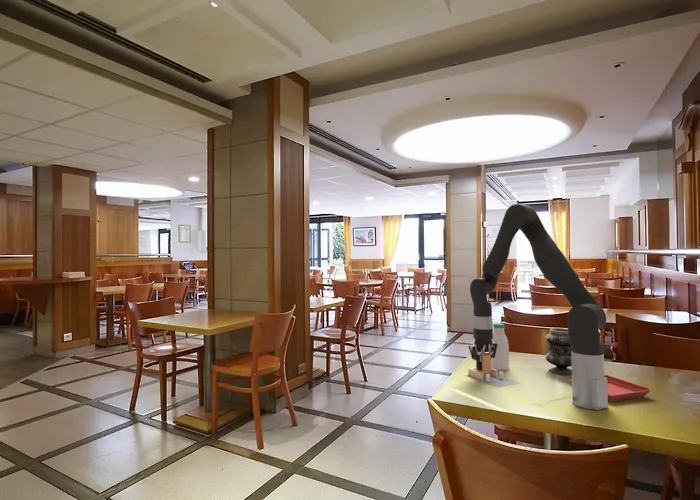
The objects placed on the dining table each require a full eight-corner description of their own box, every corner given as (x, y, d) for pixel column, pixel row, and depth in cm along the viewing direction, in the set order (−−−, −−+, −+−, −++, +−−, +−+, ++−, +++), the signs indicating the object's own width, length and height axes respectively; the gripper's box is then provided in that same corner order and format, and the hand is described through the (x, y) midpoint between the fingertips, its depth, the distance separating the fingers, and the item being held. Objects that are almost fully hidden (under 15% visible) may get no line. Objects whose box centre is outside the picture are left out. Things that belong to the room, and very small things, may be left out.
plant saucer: (611, 405, 131) (611, 394, 131) (568, 387, 149) (568, 379, 149) (653, 399, 136) (652, 389, 136) (606, 383, 154) (606, 374, 154)
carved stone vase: (584, 376, 161) (583, 332, 162) (554, 376, 162) (553, 332, 162) (568, 368, 173) (567, 326, 174) (540, 368, 174) (539, 327, 174)
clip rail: (520, 385, 151) (520, 375, 152) (497, 390, 146) (497, 380, 146) (486, 373, 167) (486, 365, 167) (465, 377, 161) (464, 369, 161)
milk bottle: (512, 372, 168) (511, 325, 168) (493, 372, 168) (492, 325, 169) (505, 367, 176) (504, 322, 176) (487, 367, 176) (487, 322, 176)
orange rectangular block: (491, 372, 159) (490, 355, 159) (483, 373, 158) (483, 356, 158) (483, 370, 163) (483, 352, 163) (476, 371, 161) (476, 354, 161)
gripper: (476, 330, 154) (477, 374, 154) (502, 326, 160) (503, 369, 160) (463, 327, 161) (463, 369, 160) (488, 324, 167) (489, 365, 167)
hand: (483, 369), depth 160 cm, fingers closed on orange rectangular block, 3 cm apart
